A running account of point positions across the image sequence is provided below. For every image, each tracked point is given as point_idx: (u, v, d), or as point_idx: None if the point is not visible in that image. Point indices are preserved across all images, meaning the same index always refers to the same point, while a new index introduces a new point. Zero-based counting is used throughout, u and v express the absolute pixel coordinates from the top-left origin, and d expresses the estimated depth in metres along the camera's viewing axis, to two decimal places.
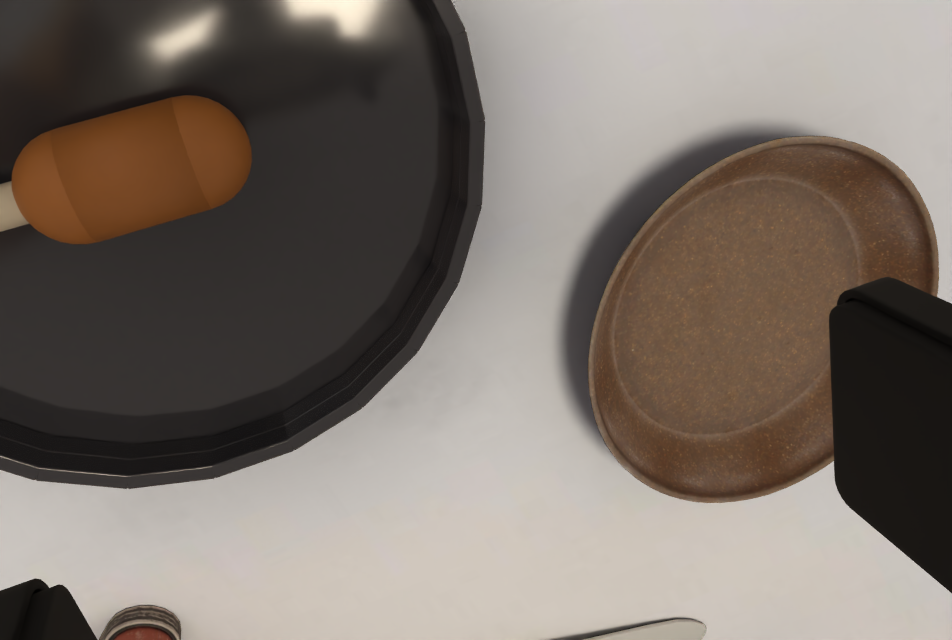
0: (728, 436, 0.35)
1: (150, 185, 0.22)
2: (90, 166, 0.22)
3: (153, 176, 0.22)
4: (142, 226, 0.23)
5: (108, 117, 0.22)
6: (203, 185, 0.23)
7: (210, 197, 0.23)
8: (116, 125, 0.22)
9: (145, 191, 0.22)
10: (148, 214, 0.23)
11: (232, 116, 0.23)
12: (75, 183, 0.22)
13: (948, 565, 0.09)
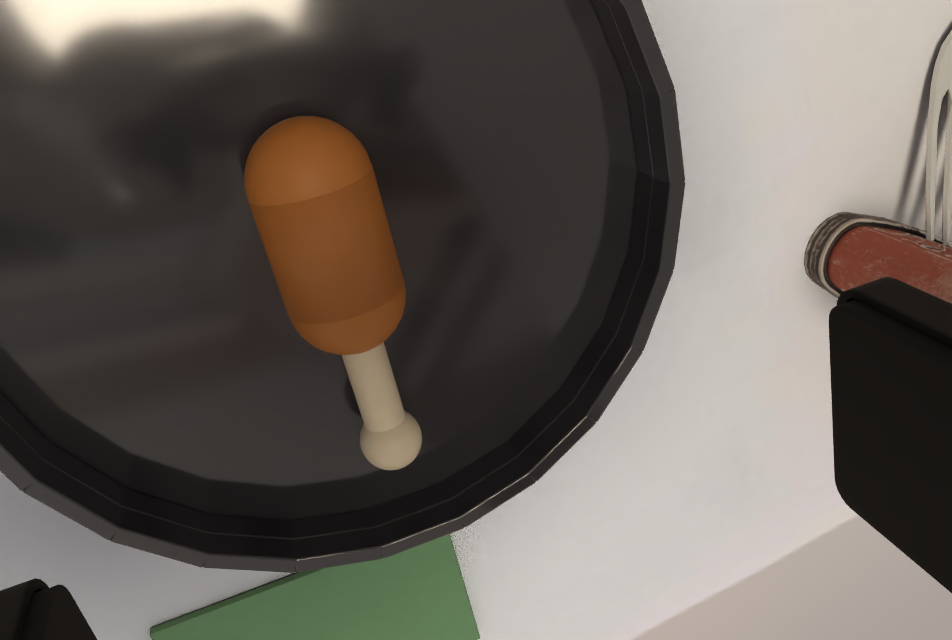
0: None
1: (340, 239, 0.20)
2: (320, 294, 0.21)
3: (330, 236, 0.20)
4: (388, 243, 0.21)
5: (271, 265, 0.21)
6: (341, 183, 0.20)
7: (356, 174, 0.20)
8: (278, 262, 0.21)
9: (347, 245, 0.20)
10: (373, 240, 0.21)
11: (264, 138, 0.20)
12: (337, 309, 0.21)
13: (948, 565, 0.09)
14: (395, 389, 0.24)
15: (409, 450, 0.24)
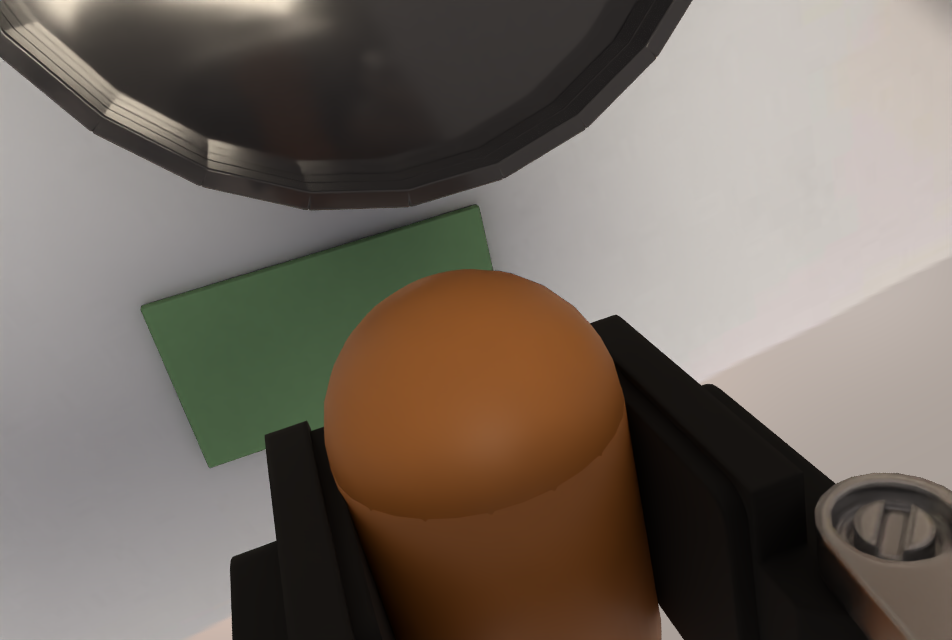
0: None
1: (565, 587, 0.08)
2: None
3: (543, 583, 0.08)
4: (647, 552, 0.09)
5: None
6: (577, 461, 0.08)
7: (606, 428, 0.08)
8: (403, 618, 0.09)
9: (580, 597, 0.08)
10: (629, 565, 0.09)
11: (379, 340, 0.08)
12: None
13: (658, 587, 0.10)
14: None
15: None
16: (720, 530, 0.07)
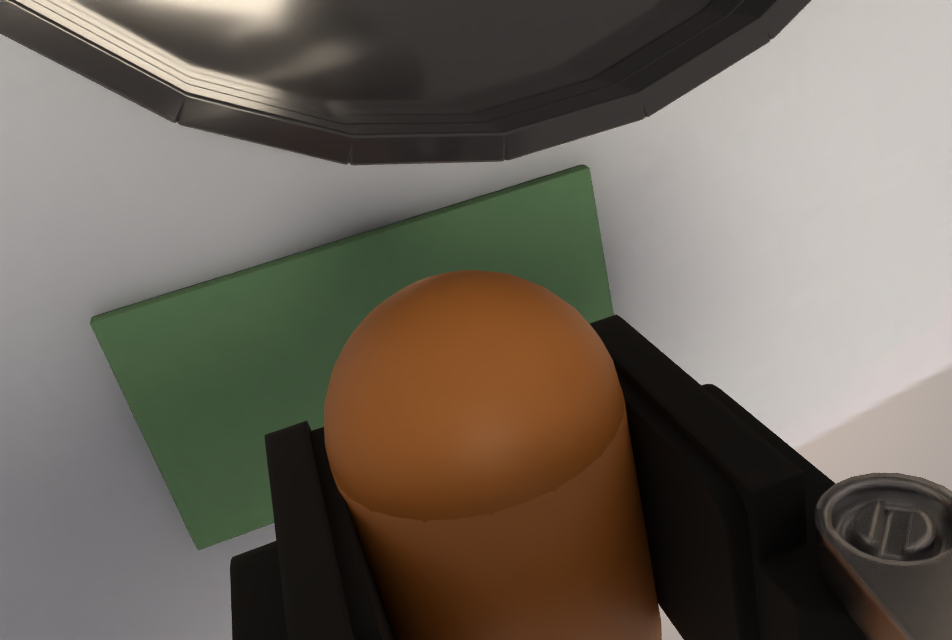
0: None
1: (565, 588, 0.08)
2: None
3: (543, 585, 0.08)
4: (647, 553, 0.09)
5: None
6: (578, 462, 0.08)
7: (607, 430, 0.08)
8: (403, 619, 0.09)
9: (580, 598, 0.08)
10: (629, 566, 0.09)
11: (379, 342, 0.08)
12: None
13: (659, 587, 0.10)
14: None
15: None
16: (720, 530, 0.07)
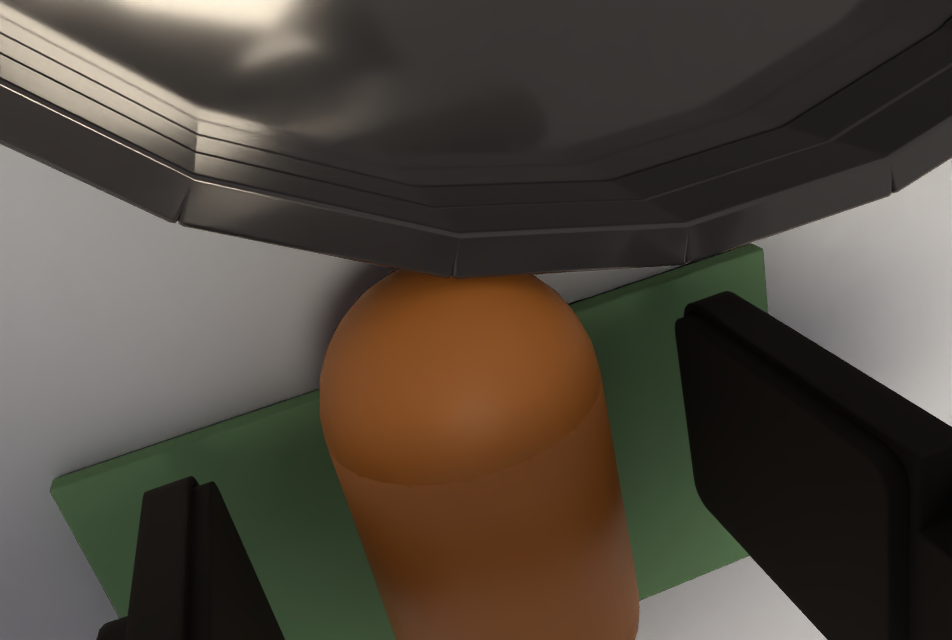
0: None
1: (541, 553, 0.09)
2: None
3: (520, 548, 0.09)
4: (623, 525, 0.10)
5: (372, 571, 0.10)
6: (552, 434, 0.08)
7: (581, 405, 0.09)
8: (391, 581, 0.09)
9: (554, 562, 0.09)
10: (604, 535, 0.09)
11: (370, 319, 0.09)
12: None
13: (776, 563, 0.10)
14: None
15: None
16: (878, 498, 0.07)
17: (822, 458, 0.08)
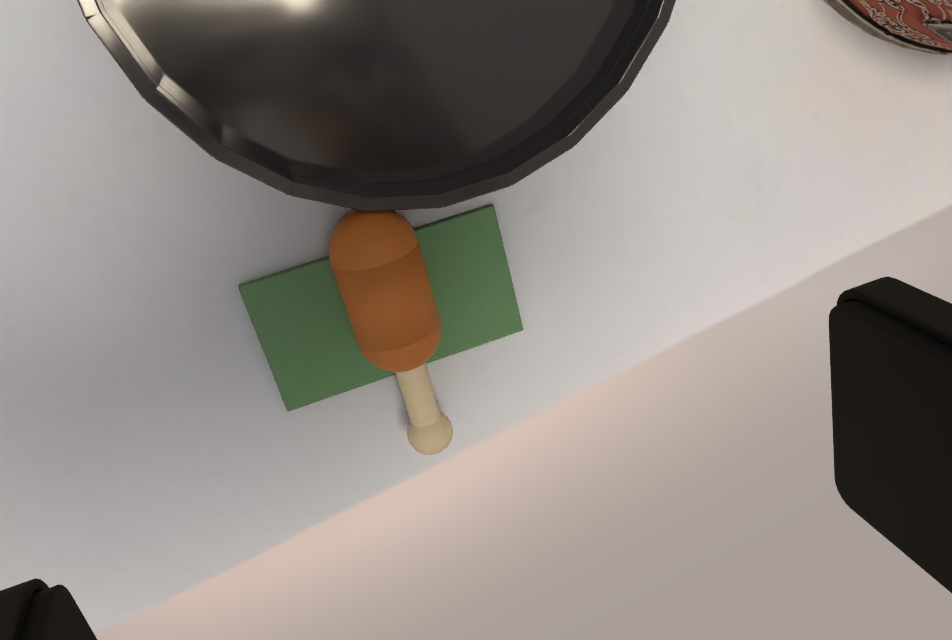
0: None
1: (395, 294, 0.29)
2: (381, 331, 0.30)
3: (388, 292, 0.29)
4: (428, 294, 0.30)
5: (346, 309, 0.30)
6: (396, 256, 0.29)
7: (407, 249, 0.29)
8: (351, 308, 0.30)
9: (400, 298, 0.29)
10: (418, 293, 0.30)
11: (343, 224, 0.29)
12: (393, 342, 0.30)
13: (948, 565, 0.09)
14: (433, 396, 0.32)
15: (443, 441, 0.33)
16: None
17: None
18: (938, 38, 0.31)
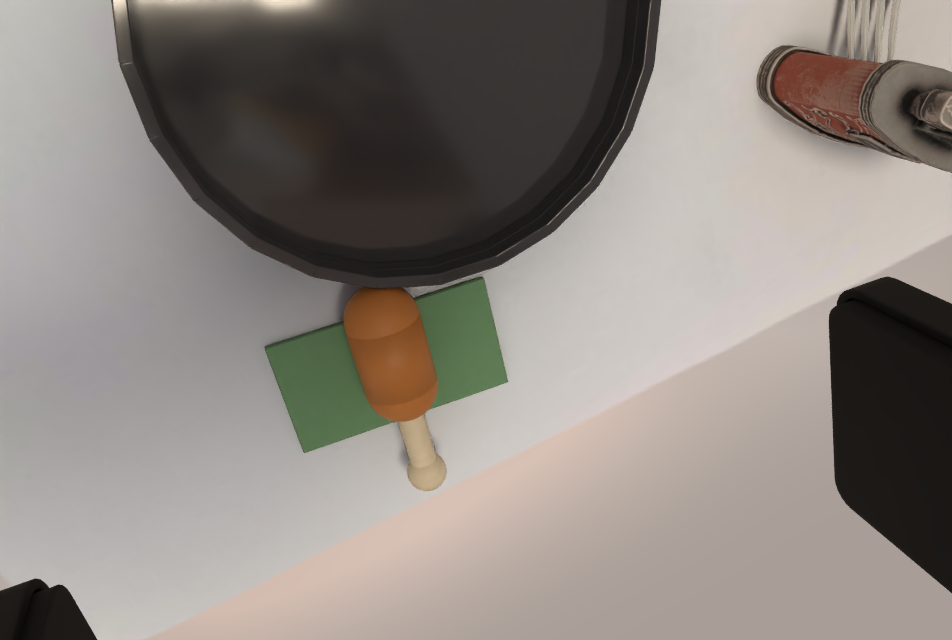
0: None
1: (400, 358, 0.34)
2: (387, 389, 0.35)
3: (394, 357, 0.34)
4: (428, 357, 0.35)
5: (358, 369, 0.35)
6: (401, 327, 0.34)
7: (410, 320, 0.34)
8: (362, 369, 0.35)
9: (404, 361, 0.34)
10: (419, 357, 0.35)
11: (356, 299, 0.34)
12: (397, 398, 0.35)
13: (948, 565, 0.09)
14: (430, 441, 0.38)
15: (438, 479, 0.38)
16: None
17: None
18: None
